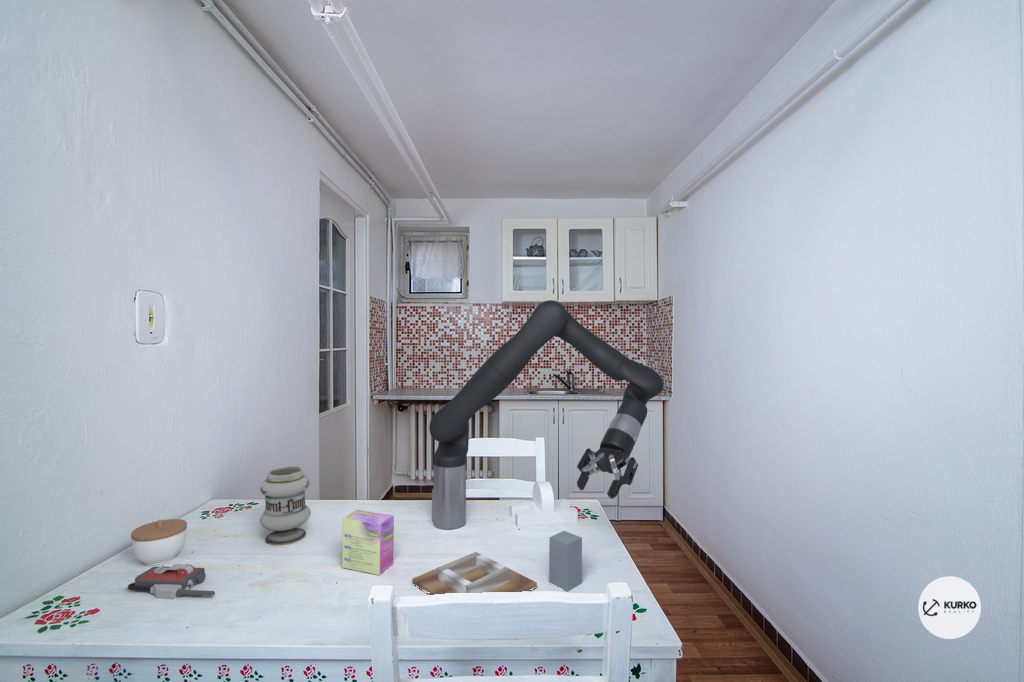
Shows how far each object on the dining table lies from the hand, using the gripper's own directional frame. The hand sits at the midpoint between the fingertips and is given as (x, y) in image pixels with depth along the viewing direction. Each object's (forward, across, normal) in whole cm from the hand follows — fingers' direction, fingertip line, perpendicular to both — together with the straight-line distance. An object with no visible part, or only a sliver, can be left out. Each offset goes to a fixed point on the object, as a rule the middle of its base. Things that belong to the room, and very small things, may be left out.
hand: (594, 492), depth 109 cm
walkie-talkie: (+63, -56, -37) cm, 92 cm away
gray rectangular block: (+20, 0, +5) cm, 20 cm away
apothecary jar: (+44, -67, -20) cm, 83 cm away
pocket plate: (+30, -13, -6) cm, 34 cm away
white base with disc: (+3, -28, +22) cm, 36 cm away
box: (+39, -37, -14) cm, 56 cm away
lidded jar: (+63, -75, -38) cm, 105 cm away
